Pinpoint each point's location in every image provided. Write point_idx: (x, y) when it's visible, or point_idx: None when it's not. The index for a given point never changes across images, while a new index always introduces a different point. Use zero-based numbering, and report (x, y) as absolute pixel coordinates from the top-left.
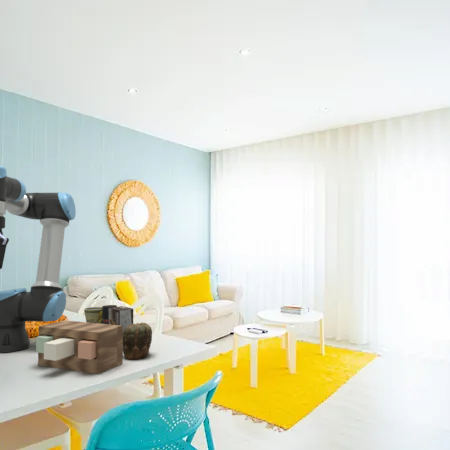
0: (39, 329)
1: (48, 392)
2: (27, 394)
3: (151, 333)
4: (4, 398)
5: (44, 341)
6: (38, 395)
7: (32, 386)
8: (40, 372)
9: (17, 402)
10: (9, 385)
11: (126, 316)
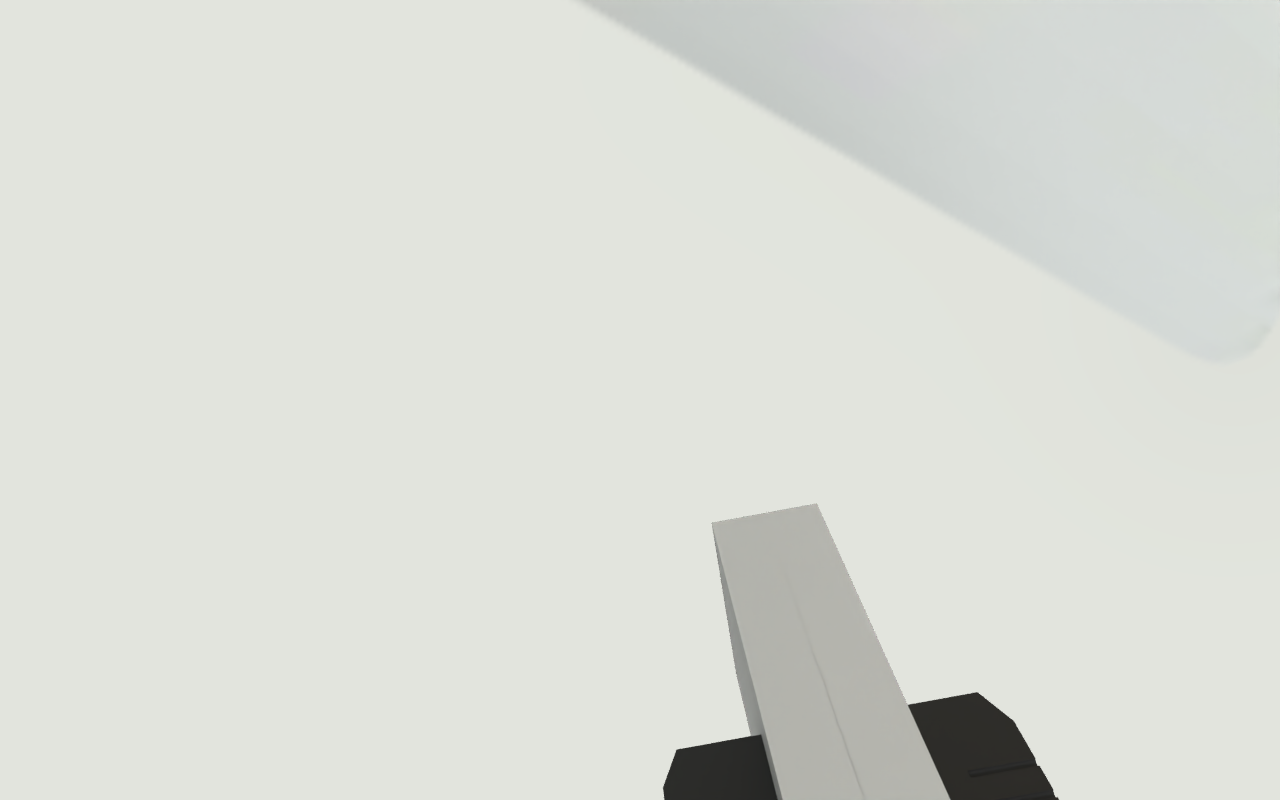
0: None
1: (1274, 65)
2: (1163, 171)
3: None
4: (1079, 291)
5: None
6: (1248, 140)
7: (1067, 55)
8: None
9: (1210, 281)
10: (889, 141)
11: None
